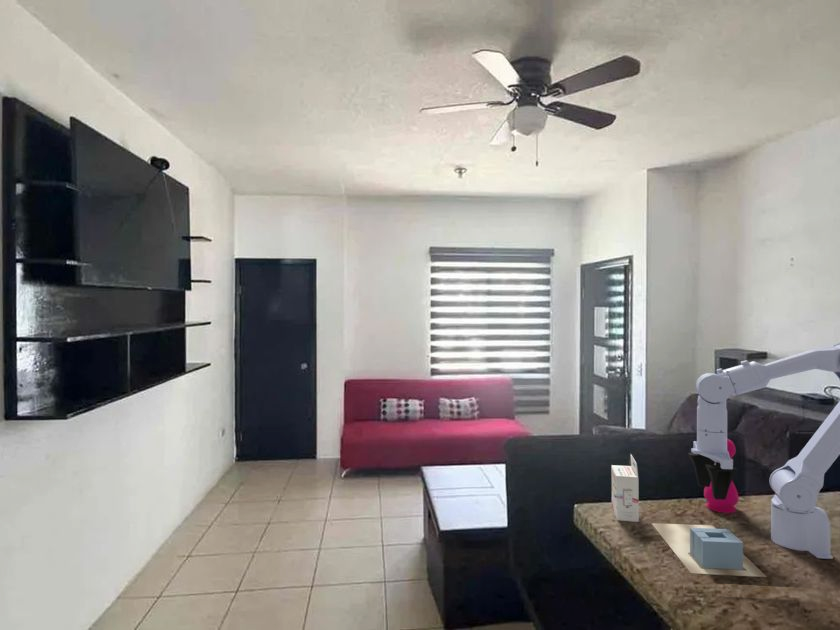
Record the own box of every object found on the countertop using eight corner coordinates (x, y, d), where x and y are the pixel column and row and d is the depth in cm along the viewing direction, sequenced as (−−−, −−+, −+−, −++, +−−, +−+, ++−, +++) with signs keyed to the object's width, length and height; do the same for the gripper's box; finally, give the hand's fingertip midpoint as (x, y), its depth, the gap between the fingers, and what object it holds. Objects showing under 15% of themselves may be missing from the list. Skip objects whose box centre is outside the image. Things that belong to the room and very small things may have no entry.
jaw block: (727, 554, 102) (727, 529, 102) (742, 569, 97) (743, 542, 96) (690, 552, 103) (690, 527, 103) (702, 567, 97) (702, 541, 97)
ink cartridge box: (610, 512, 128) (610, 452, 127) (632, 513, 127) (632, 453, 126) (616, 526, 119) (616, 462, 119) (639, 528, 118) (639, 463, 118)
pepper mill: (697, 508, 130) (697, 427, 129) (725, 507, 130) (725, 427, 130) (716, 520, 122) (716, 435, 122) (745, 519, 123) (745, 434, 123)
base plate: (712, 532, 116) (712, 506, 116) (766, 585, 94) (767, 552, 94) (651, 529, 118) (651, 503, 117) (690, 581, 96) (691, 549, 96)
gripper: (679, 421, 120) (679, 480, 121) (706, 437, 106) (706, 504, 106) (712, 422, 120) (711, 481, 120) (743, 438, 105) (743, 505, 106)
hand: (711, 492), depth 113 cm, fingers open, 7 cm apart
